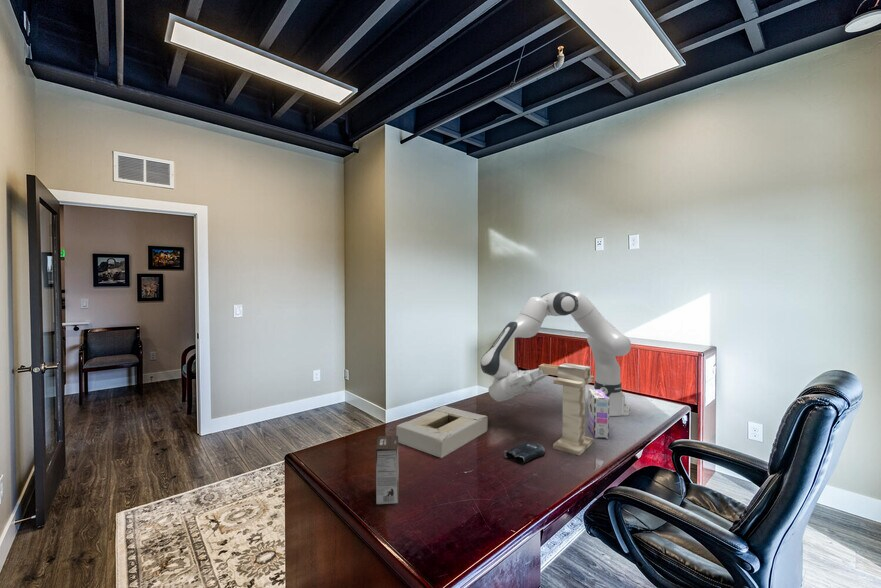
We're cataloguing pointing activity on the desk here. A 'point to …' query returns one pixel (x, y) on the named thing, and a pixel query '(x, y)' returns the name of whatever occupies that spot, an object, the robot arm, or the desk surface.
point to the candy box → (598, 413)
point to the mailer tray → (554, 370)
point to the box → (441, 430)
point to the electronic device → (525, 451)
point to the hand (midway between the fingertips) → (548, 369)
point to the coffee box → (387, 470)
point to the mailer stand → (573, 408)
